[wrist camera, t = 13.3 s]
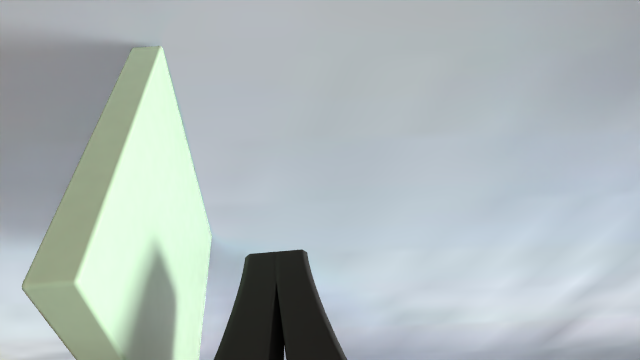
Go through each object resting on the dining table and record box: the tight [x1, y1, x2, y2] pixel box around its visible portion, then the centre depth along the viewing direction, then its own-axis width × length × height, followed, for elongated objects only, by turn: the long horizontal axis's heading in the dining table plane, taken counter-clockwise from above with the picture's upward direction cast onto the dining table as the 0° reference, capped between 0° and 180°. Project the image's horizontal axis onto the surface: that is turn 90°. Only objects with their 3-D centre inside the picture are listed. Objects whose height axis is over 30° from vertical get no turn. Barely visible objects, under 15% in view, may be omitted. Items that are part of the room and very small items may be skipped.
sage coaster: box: [22, 46, 212, 360], centre depth 12 cm, size 8×1×8 cm, turn 1°
